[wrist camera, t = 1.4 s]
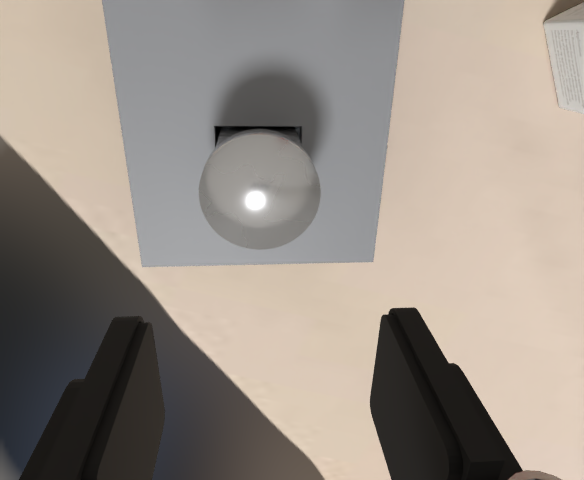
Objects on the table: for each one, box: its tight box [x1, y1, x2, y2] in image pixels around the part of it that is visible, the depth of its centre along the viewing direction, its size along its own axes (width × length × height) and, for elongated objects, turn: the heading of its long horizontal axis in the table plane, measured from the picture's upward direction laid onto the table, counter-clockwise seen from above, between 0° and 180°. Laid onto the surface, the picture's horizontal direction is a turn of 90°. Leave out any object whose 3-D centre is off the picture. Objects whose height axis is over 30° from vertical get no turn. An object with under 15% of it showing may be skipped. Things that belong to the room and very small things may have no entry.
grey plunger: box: [199, 126, 321, 250], centre depth 23 cm, size 6×6×6 cm
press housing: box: [102, 0, 404, 267], centre depth 23 cm, size 14×28×6 cm, turn 179°
